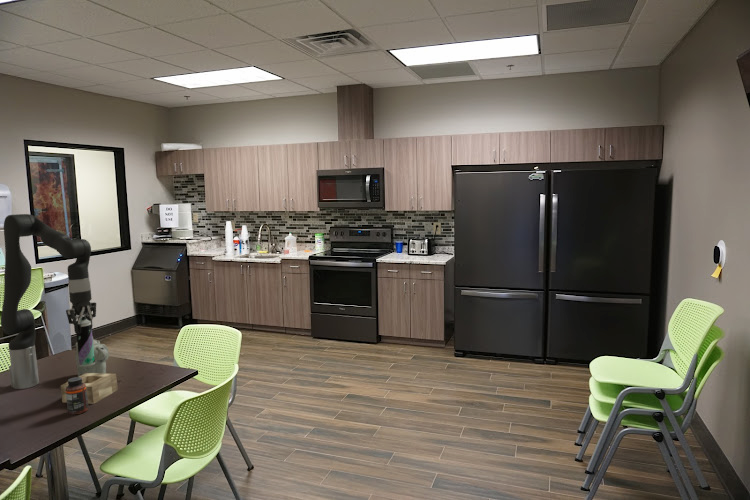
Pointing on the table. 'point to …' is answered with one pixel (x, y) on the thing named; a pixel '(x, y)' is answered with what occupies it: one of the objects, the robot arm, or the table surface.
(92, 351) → the spray can
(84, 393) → the supplement bottle
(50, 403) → the table surface
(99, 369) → the grey animal cookie jar
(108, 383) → the tube block
